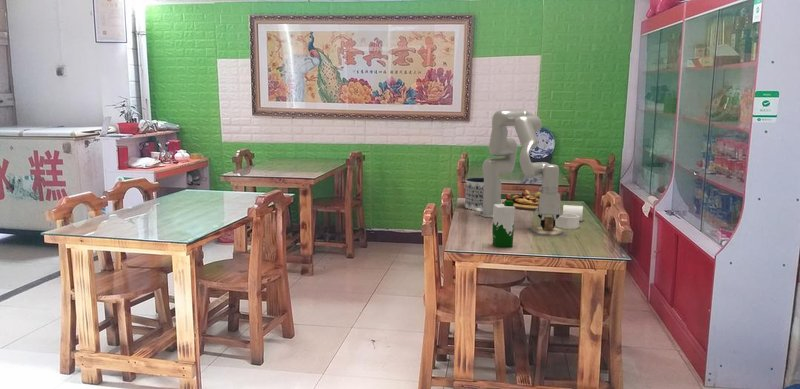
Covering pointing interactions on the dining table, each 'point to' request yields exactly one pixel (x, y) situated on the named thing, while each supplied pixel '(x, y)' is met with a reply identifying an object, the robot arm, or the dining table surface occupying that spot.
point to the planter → (474, 193)
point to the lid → (547, 228)
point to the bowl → (568, 221)
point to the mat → (545, 235)
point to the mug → (573, 210)
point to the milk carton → (503, 224)
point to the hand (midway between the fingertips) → (547, 227)
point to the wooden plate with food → (524, 200)
